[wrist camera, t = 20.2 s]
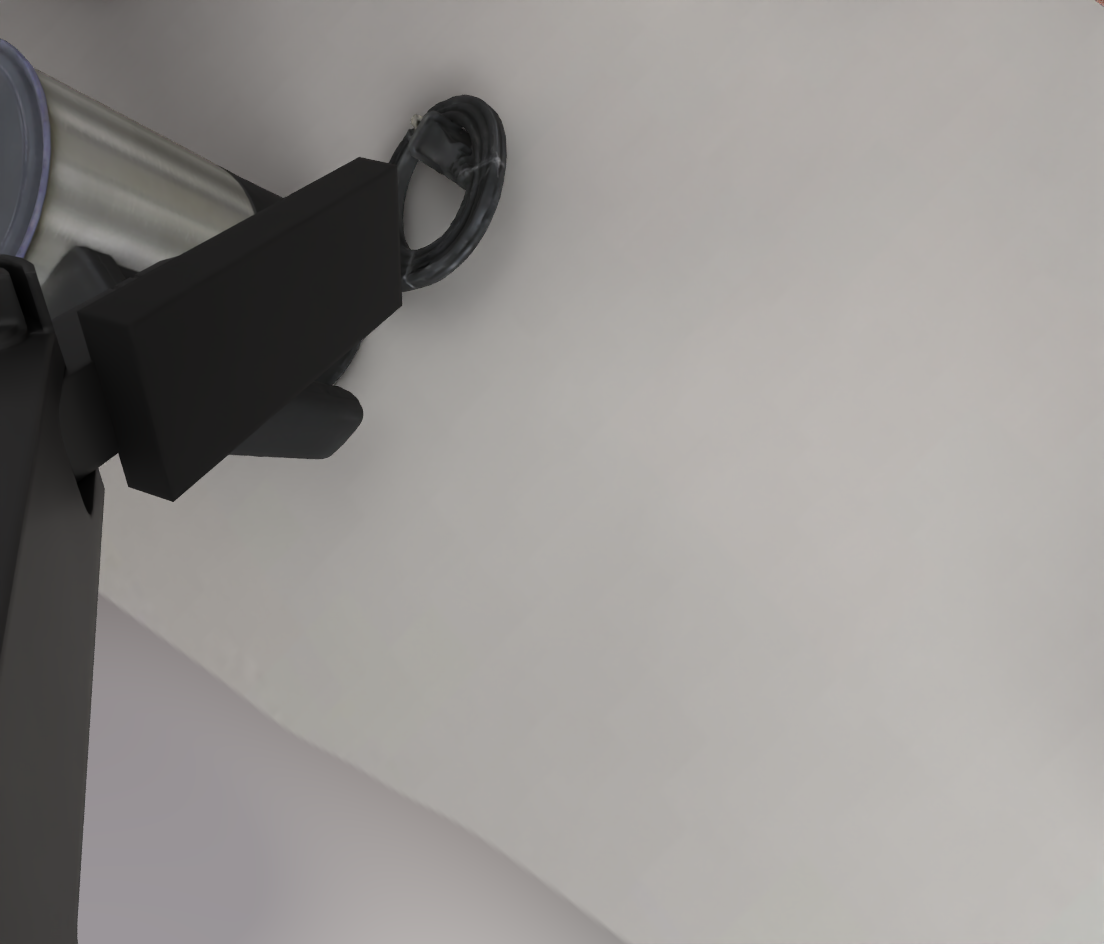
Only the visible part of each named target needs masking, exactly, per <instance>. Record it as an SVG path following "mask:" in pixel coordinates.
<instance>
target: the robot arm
mask: <svg viewBox="0 0 1104 944" xmlns="http://www.w3.org/2000/svg"><path fill="white" fill-rule="evenodd" d="M401 306H402V287H401V259H400V231H399V204H398V176H397V165H394V164H389V163H385V162H380V161H375V160H371V159H366V158H361V157H358V158H356V159H355V160H353V161H351V162H349V163H347V164H346V165H344V166H342V167H340V168H338V169H336V170H335V171H333V172H331V173H329V174H327V175H325V176H324V177H322V178H320V179H318V180H316V181H314V182H313V183H311V184H309V185H307V186H305V187H303V188H302V189H300V190H298V191H296V192H294V193H292V194H291V195H289V196H287V197H285V198H283V199H281V200H280V201H278V202H276V203H274V204H272V205H270V206H269V207H267V208H265V209H263V210H261V211H259V212H258V213H256V214H254V215H252V216H250V217H249V218H247V219H245V220H243V221H241V222H239V223H238V224H236V225H234V226H232V227H230V228H228V229H227V230H225V231H223V232H221V233H219V234H217V235H216V236H214V237H212V238H210V239H208V240H206V241H205V242H203V243H201V244H199V245H197V246H195V247H194V248H192V249H190V250H188V251H186V252H184V253H183V254H181V255H179V256H176V257H172V258H168V259H165V260H161V261H159V262H157V263H155V264H153V265H152V266H150V267H148V268H146V269H144V270H142V271H140V272H139V273H137V274H135V277H134V278H131V277H129V278H127V279H126V280H124V281H122V282H120V283H118V284H116V285H115V286H114V289H110V288H109V289H107V290H105V291H103V292H102V293H100V294H98V295H96V296H94V297H92V298H90V299H89V300H87V301H85V302H83V303H81V304H79V305H77V306H76V307H74V308H72V309H70V310H68V311H66V312H65V313H63V314H61V315H59V316H57V317H55V318H53V319H52V320H51V317H50V314H49V311H48V308H47V305H46V302H45V298H44V295H43V292H42V289H41V286H40V283H39V280H38V276H37V273H36V270H35V267H34V264H32V263H31V262H29V261H27V260H25V259H24V258H21V257H16V256H10V255H5V254H0V944H78V940H77V918H78V903H79V887H80V871H81V855H82V840H83V824H84V807H85V792H86V791H85V790H86V776H87V774H86V773H87V760H88V744H89V728H90V713H91V696H92V681H93V665H94V649H95V633H96V617H97V601H98V585H99V570H100V554H101V538H102V522H103V506H104V490H105V488H104V485H103V482H102V478H101V475H100V472H99V469H98V467H100V466H101V465H102V464H104V463H105V462H106V461H108V460H109V459H110V458H112V457H113V456H114V455H116V454H117V453H118V454H119V457H120V460H121V464H122V467H123V470H124V474H125V477H126V481H127V484H128V487H131V488H133V489H136V490H139V491H142V492H145V493H148V494H151V495H154V496H157V497H160V498H163V499H166V500H169V501H172V502H174V501H175V500H176V499H177V498H178V497H180V496H181V495H182V494H183V493H184V492H185V491H187V490H188V489H189V488H190V487H191V486H192V485H194V484H195V483H196V482H197V481H198V480H199V479H201V478H202V477H203V476H204V475H205V474H206V473H208V472H209V471H210V470H211V469H212V468H213V467H215V466H216V465H217V464H218V463H219V462H220V461H222V460H223V459H224V458H225V457H226V456H227V455H229V454H230V453H231V452H232V451H233V450H234V449H236V448H237V447H238V446H239V445H240V444H241V443H243V442H244V441H245V440H246V439H247V438H248V437H250V436H251V435H252V434H253V433H254V432H255V431H256V430H258V429H259V428H260V427H261V426H262V425H263V424H265V423H266V422H267V421H268V420H269V419H270V418H272V417H273V416H274V415H275V414H276V413H277V412H279V411H280V410H281V409H282V408H283V407H284V406H286V405H287V404H288V403H289V402H290V401H291V400H293V399H294V398H295V397H296V396H297V395H298V394H300V393H301V392H302V391H303V390H304V389H305V388H307V387H308V386H309V385H310V384H311V383H312V382H314V381H315V380H316V379H317V378H318V377H319V376H321V375H322V374H323V373H324V372H325V371H326V370H328V369H329V368H330V367H331V366H332V365H333V364H334V363H336V362H337V361H338V360H339V359H340V358H341V357H343V356H344V355H345V354H346V353H347V352H348V351H350V350H351V349H352V348H353V347H354V346H355V345H357V344H358V343H359V342H360V341H361V340H362V339H364V338H365V337H366V336H367V335H368V334H369V333H371V332H372V331H373V330H374V329H375V328H376V327H378V326H379V325H380V324H381V323H382V322H383V321H385V320H386V319H387V318H388V317H389V316H390V315H392V314H393V313H394V312H395V311H396V310H397V309H399V308H400V307H401Z"/></svg>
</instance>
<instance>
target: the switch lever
mask: <svg viewBox="0 0 1104 944" xmlns="http://www.w3.org/2000/svg"><path fill="white" fill-rule="evenodd" d="M1095 1H1096V2H1098V3H1099V4H1100V5H1102V6H1103V7H1104V0H1095Z"/></svg>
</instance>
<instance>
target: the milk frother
mask: <svg viewBox="0 0 1104 944" xmlns="http://www.w3.org/2000/svg"><path fill="white" fill-rule="evenodd" d="M411 125H412V126H413V127H414V128H413V129H412V130H411V129H409V130H408V132H407V134H406V135H405V137H404V139H403V141H402V142H400V144H399V146H398V147H397V149H396V151H395V152H394V154H393V156H392V158H391V160H390V162H389V164H394V165H397V176H398V204H399V231H400V259H401V287H402V292H405V291H410V290H414V289H418V288H422V287H425V286H429V285H432V284H434V283H436V282H438V281H440V280H442V279H443V278H445V277H446V276H447V275H449V274H450V273H451V272H453V271H454V270H455V269H456V268H457V267H459V266H460V265H461V264H462V263H463V262H464V261H465V260H466V259H467V258H468V257H469V255H470V254H471V253H472V252H473V250H474V249H475V248H476V246H477V245H478V243H479V242H480V240H481V239H482V237H483V235H484V234H485V232H486V230H487V228H488V226H489V224H490V222H491V220H492V217H493V215H494V213H495V210H496V208H497V205H498V202H499V199H500V195H501V191H502V186H503V182H504V175H505V168H506V158H507V152H506V135H505V132H504V128H503V125H502V121H501V119H500V118H499V116H498V114H497V113H496V112H495V111H494V110H493V109H492V108H491V107H490V106H489V105H488V104H487V103H486V102H484V101H483V100H481V99H479V98H477V97H473V96H469V95H461V96H454V97H452V98H450V99H448V100H446V101H442V102H440V103H438V104H436V105H435V106H434V107H432V108H431V109H430V110H428V112H427V114H425V115H424V116H423V117H422V116H420V115H414V116H413V117H412V119H411ZM462 127H464V128H465V129H466V130H467V132H466V131H465V130H463V129H462ZM418 160H420V161H422V162H423V163H425V164H426V165H428V166H429V167H431V168H433V169H435V170H436V171H437V172H438V173H440V174H443V175H445V176H446V177H447V178H448V179H450V180H452V181H454V182H455V183H457V184H458V185H459V186H460V187H462V188H463V189H464V190H466V192H465V196H464V199H463V201H462V203H461V207H460V209H459V210H458V212H457V215H456V217H455V219H454V220H453V221H452V223H451V226H450V227H449V229H448V230H447V231H446V232H445V233H444V234H443V236H442V237H440V238H438V239H437V240H436V241H434V242H433V243H431V244H430V245H428V246H426V247H424V248H421V249H418V250H411V249H410V248H409V246H408V244H407V242H406V240H405V236H404V231H403V221H402V218H403V206H404V200H405V195H406V191H407V187H408V184H409V181H410V178H411V176H412V173H413V171H414V169H415V167H416V165H417V162H418ZM281 199H283V198H282V197H280V196H278V195H276V194H274V193H272V192H269V191H267V190H265V189H263V188H261V187H259V186H257V185H255V184H253V183H251V182H249V181H247V180H245V179H243V178H241V177H239V176H237V175H235V174H233V173H231V172H230V171H228V170H226V169H224V168H222V167H220V166H218V165H216V164H214V163H212V162H211V161H209V160H207V159H205V158H203V157H201V156H199V155H198V154H196V153H194V152H192V151H190V150H188V149H186V148H184V147H183V146H181V145H179V144H177V143H175V142H173V141H171V140H169V139H168V138H166V137H164V136H162V135H160V134H158V133H156V132H154V131H153V130H151V129H149V128H147V127H145V126H143V125H141V124H139V123H137V122H136V121H134V120H132V119H130V118H128V117H126V116H124V115H122V114H121V113H119V112H117V111H115V110H113V109H111V108H109V107H107V106H105V105H103V104H102V103H100V102H98V101H96V100H94V99H92V98H90V97H88V96H86V95H84V94H83V93H81V92H79V91H77V90H75V89H73V88H71V87H69V86H67V85H66V84H64V83H62V82H60V81H58V80H56V79H54V78H52V77H50V76H48V75H47V74H45V73H43V72H41V71H39V70H37V69H35V68H33V66H32V65H31V64H30V63H29V61H28V60H27V59H26V58H25V57H24V56H23V55H22V54H21V53H20V52H19V51H18V50H17V49H16V48H15V47H14V46H13V45H11V44H10V43H8V42H7V41H5V40H2V39H0V254H5V255H10V256H16V257H21V258H24V259H25V260H27V261H29V262H31V263H32V264H34V267H35V270H36V273H37V276H38V280H39V283H40V286H41V289H42V292H43V295H44V298H45V302H46V305H47V308H48V311H49V314H50V317H51V320H52V319H53V318H55V317H57V316H59V315H61V314H63V313H65V312H66V311H68V310H70V309H72V308H74V307H76V306H77V305H79V304H81V303H83V302H85V301H87V300H89V299H90V298H92V297H94V296H96V295H98V294H100V293H102V292H103V291H105V290H107V289H109V288H110V289H114V286H115V285H116V284H118V283H120V282H122V281H124V280H126V279H127V278H129V277H131V278H134V277H135V274H137V273H139V272H140V271H142V270H144V269H146V268H148V267H150V266H152V265H153V264H155V263H157V262H159V261H161V260H165V259H168V258H172V257H176V256H179V255H181V254H183V253H184V252H186V251H188V250H190V249H192V248H194V247H195V246H197V245H199V244H201V243H203V242H205V241H206V240H208V239H210V238H212V237H214V236H216V235H217V234H219V233H221V232H223V231H225V230H227V229H228V228H230V227H232V226H234V225H236V224H238V223H239V222H241V221H243V220H245V219H247V218H249V217H250V216H252V215H254V214H256V213H258V212H259V211H261V210H263V209H265V208H267V207H269V206H270V205H272V204H274V203H276V202H278V201H280V200H281ZM360 342H361V341H360ZM360 342H359V343H358V344H357V345H355V346H354V347H353V348H352V349H351V350H350V351H348V352H347V353H346V354H345V355H344V356H343V357H341V358H340V359H339V360H338V361H337V362H336V363H334V364H333V365H332V366H331V367H330V368H329V369H328V370H326V371H325V372H324V373H323V374H322V375H321V376H319V377H318V378H317V379H316V380H315V381H314V382H312V383H311V384H310V385H309V386H308V387H307V388H305V389H304V390H303V391H302V392H301V393H300V394H298V395H297V396H296V397H295V398H294V399H293V400H291V401H290V402H289V403H288V404H287V405H286V406H284V407H283V408H282V409H281V410H280V411H279V412H277V413H276V414H275V415H274V416H273V417H272V418H270V419H269V420H268V421H267V422H266V423H265V424H263V425H262V426H261V427H260V428H259V429H258V430H256V431H255V432H254V433H253V434H252V435H251V436H250V437H248V438H247V439H246V440H245V441H244V442H243V443H241V444H240V445H239V446H238V447H237V448H236V449H234V450H233V451H232V452H231V453H230V454H229V455H244V456H247V455H249V456H258V457H284V458H304V459H324V458H327V457H330V456H331V455H332V454H333V453H334V452H336V451H337V450H338V449H339V448H340V447H341V446H342V445H343V444H344V443H345V442H346V441H347V439H348V438H349V437H350V436H351V435H352V434H353V433H354V431H355V430H356V429H357V428H358V426H359V425H360V423H361V421H362V418H363V409H362V407H361V405H360V403H359V401H358V399H357V398H356V397H355V396H354V395H353V394H352V393H351V392H349V391H347V390H344V389H342V388H341V387H338V386H332V384H333V383H334V382H335V381H336V380H338V379H339V377H340V376H341V375H342V374H343V372H344V371H345V369H346V368H347V367H348V365H349V364H350V362H351V360H352V358H353V357H354V355H355V353H356V351H357V349H358V347H359V344H360Z"/></svg>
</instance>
